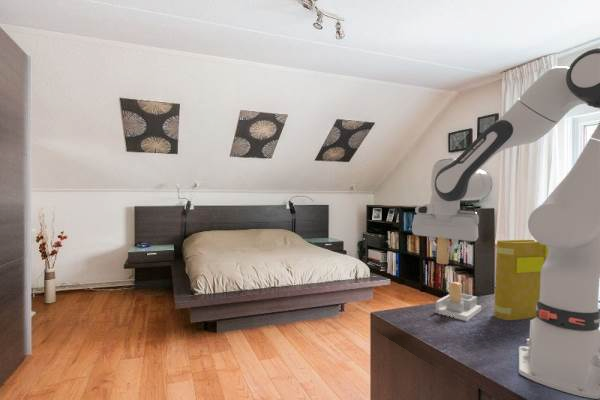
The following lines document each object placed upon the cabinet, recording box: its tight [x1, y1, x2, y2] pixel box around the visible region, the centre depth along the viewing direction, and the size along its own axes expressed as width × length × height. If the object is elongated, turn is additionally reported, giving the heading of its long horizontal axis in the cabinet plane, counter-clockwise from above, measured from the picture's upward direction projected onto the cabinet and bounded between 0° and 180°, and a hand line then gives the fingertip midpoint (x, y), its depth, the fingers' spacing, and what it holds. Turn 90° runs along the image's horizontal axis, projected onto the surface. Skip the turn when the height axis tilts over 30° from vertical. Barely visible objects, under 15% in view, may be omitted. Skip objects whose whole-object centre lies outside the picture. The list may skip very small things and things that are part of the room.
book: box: [493, 238, 549, 321], centre depth 117 cm, size 17×7×25 cm, turn 108°
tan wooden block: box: [436, 236, 451, 265], centre depth 113 cm, size 4×4×9 cm
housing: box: [435, 281, 482, 322], centre depth 119 cm, size 15×10×10 cm, turn 137°
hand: (442, 251), depth 113 cm, fingers closed on tan wooden block, 4 cm apart
